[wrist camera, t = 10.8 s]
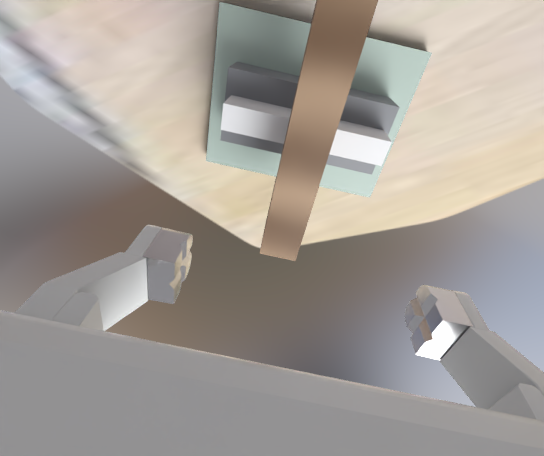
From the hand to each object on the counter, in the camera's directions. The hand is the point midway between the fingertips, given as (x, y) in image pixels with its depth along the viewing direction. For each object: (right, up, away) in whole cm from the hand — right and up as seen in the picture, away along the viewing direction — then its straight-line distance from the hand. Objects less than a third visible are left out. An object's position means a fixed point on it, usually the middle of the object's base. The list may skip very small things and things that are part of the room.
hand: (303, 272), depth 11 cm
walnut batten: (+1, +9, +13) cm, 16 cm away
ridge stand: (+2, +13, +20) cm, 24 cm away
